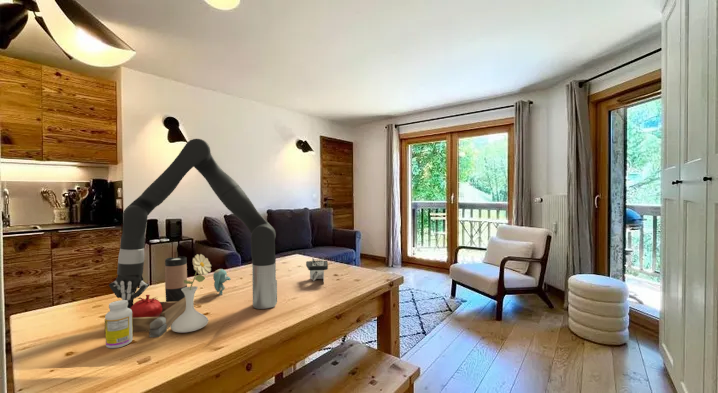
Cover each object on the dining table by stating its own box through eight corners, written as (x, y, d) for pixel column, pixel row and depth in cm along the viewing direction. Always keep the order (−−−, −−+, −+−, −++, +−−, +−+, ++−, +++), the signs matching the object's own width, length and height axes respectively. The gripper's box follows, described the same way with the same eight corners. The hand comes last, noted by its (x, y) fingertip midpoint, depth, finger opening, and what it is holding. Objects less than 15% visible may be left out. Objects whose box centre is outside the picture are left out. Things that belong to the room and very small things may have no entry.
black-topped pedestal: (293, 277, 172) (293, 253, 172) (340, 275, 175) (340, 251, 175) (287, 293, 144) (287, 264, 144) (344, 291, 147) (344, 262, 147)
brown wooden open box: (189, 312, 122) (189, 296, 122) (159, 337, 101) (158, 318, 101) (136, 313, 121) (136, 298, 120) (94, 339, 100) (94, 320, 100)
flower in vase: (182, 339, 99) (181, 260, 99) (163, 331, 105) (162, 256, 105) (219, 324, 110) (219, 253, 110) (200, 317, 116) (200, 250, 116)
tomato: (165, 321, 115) (171, 296, 115) (136, 328, 106) (142, 301, 106) (149, 312, 119) (155, 288, 119) (120, 318, 110) (126, 292, 111)
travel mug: (177, 311, 123) (176, 260, 122) (160, 310, 124) (160, 259, 124) (191, 304, 130) (191, 256, 130) (175, 303, 132) (175, 256, 131)
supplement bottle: (115, 339, 100) (114, 299, 99) (137, 338, 100) (136, 298, 100) (99, 349, 93) (99, 306, 93) (123, 348, 93) (123, 305, 93)
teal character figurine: (230, 298, 138) (230, 270, 138) (212, 300, 136) (212, 272, 136) (230, 290, 148) (230, 265, 148) (214, 292, 146) (213, 267, 146)
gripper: (156, 260, 116) (152, 307, 116) (119, 258, 115) (115, 305, 115) (144, 264, 109) (140, 314, 108) (104, 262, 108) (99, 312, 108)
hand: (127, 309), depth 112 cm, fingers closed
